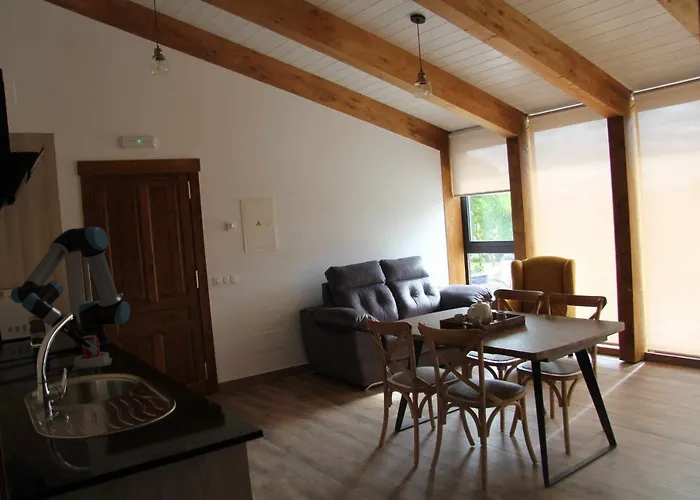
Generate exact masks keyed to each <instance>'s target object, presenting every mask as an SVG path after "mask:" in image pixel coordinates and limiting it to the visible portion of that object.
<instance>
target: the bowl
mask: <svg viewBox="0 0 700 500" xmlns="http://www.w3.org/2000/svg"><path fill="white" fill-rule="evenodd" d="M109 358H110V354H109V352H106V351H100V357H96V358H90V359H83V354H82V355H79V356H76V357H74V364H75V366H76V367H77V368H85V369H88V368H87V367H92V368H96V367H95V366H99V365H103V364H106V363H108V362H109ZM99 367H100V366H99Z"/></svg>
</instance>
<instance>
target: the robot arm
mask: <svg viewBox="0 0 700 500" xmlns="http://www.w3.org/2000/svg"><path fill="white" fill-rule="evenodd" d="M108 245H109V239H108V235H107V233H106V231H105V230H104V229H103V228H101V227H98V226H89V227H88V226H87V227H77V228H70V229H67V230H65V231H64V232H62V233H61V234H59V235H58V236H57V237H56V238H55V239H54V240H53V241H52V242H51V244H50V245H49V248H48V249H49V250H48V251H47V253H46V254H45V255H44V256H43V257H42V259H41V260H40V262H38V264H37V265H36V267H35V268H34V269H33V271H32V272H31V274H30V275H29V276H28V277H27V278H26V279H25V281H24V282H23V283H22V285H21V286H16V287H14V288H13V289H12V290H11V292H10V298H11V300H12V301H13V302H14V303H15V304H21V307H22V308H24V310H26V311H27V312H28V313H30V314H31V315H33V316H35V317H36V318H38V319H39V320H41V321H42V322H43V324H44V325H46V324H47V325H48V326H50V327H51V328H52V327H53V326H55V325H56V324H57V323H58V322H60V321H61V320H62V319H63V318H64V317H66V316H67V315H66V314H64V313H62V311H61V310H59V309H58V308H57V307H55V306H54V305H52V304H53V303H55V301H56V300H58V298H59V297H60V296H61V295H62V294H63V291H64V286H63V284H62V283H61V282H59V281H57V280H50V281H49V282H48V280H49V279H50V277H51V276H52V275H53V273H55V271H56V269H57V267H59V266H60V264H61V263H62V261H63V260H64V259H66V258H68V257H69V255H70V254H72V253H74V252H75V253H76V252H80V254H81V256H82V258H84V259H86V261H87V264H88V267H89V269H90V273H91V276H92V279H93V282H94V284H95V287H96V291H97V293H98V296H99V300H94V301H90V302H89V301H88V302H85V303H81V304H80V305H79V306H78V317H79V326H80V328H79V327H78V326H76V325H74V324H73V323H71V322H69V323H68V322H67V324H66V325H64V326H63V327H62V328H61V329H62V333H64V334H66V335H67V336H68V337H69V338H71V339H72V340H73V341H74V342H75V343H76V344H77V345H78V348H80V347H81V349H82V346H84V347H85V348H86V349H88V350H89V351H91V352H92V353H93V354H94V353H95V352H96V351H97V350H98V348H97V347H95V346H94V345H92V344H91V343H90V342H88V341H87V340H85V339H83V337H84V336H88V335H96V337H97V338H98V341H99V347H103V346H106V345H108V344H110V343H111V342H110V341H111V340H110V337H109V336H108V333H107V332H106V329H105V326H109V325H113V326H114V325H117V326H118V325H123V324H126V323H127V321H128V320H129V318H130V314H131V306H130V303H129V302H127V301H124V300H123V298H122V296H121V295H119V294H118V292H117V289H116V286H115V283H114V280H113V277H112V274H111V271H110V270H111V269H110V268H109V264H108V262H107V258H106V256H105V253H106V251H107V247H108Z"/></svg>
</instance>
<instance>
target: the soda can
mask: <svg viewBox="0 0 700 500" xmlns="http://www.w3.org/2000/svg"><path fill="white" fill-rule="evenodd" d="M83 339H85V340H87V341H88V342H90V343H91V344H92V345H94V346H95V347H97V348H98V350H97V351H96V352H95V353H94V354H93V353H92V352H91V351H89V350H88V349H86V348H85V347H84V346H82V348H81V349H82V355H83V359H90V358H96V357H100V352H101V351H100V346H99V341H98V338H97V337H96V335H88V336H84V337H83Z"/></svg>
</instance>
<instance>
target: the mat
mask: <svg viewBox="0 0 700 500" xmlns="http://www.w3.org/2000/svg"><path fill="white" fill-rule="evenodd" d="M112 361H113V357H109V362H108V363H106V364H103V365H99V366H95V367H94V368H99V367H105V366H110V365H112ZM90 368H93V367H87V368H77V367H76V366H75V363H74V365H73V367H72V369H71V371H77V370H83V369H84V370H85V369H90Z"/></svg>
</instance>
